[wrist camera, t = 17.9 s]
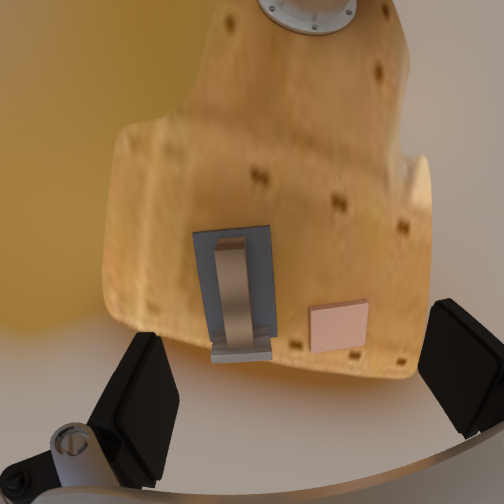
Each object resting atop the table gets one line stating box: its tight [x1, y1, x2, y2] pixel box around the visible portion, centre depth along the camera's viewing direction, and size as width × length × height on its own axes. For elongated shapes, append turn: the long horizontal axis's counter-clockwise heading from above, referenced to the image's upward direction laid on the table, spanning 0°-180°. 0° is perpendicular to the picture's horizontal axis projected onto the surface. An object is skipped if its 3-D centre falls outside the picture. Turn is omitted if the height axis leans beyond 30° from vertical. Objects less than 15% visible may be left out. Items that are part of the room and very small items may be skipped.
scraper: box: [211, 236, 272, 363], centre depth 34 cm, size 13×7×6 cm, turn 5°
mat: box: [192, 225, 277, 342], centre depth 37 cm, size 15×9×1 cm, turn 5°
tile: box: [309, 299, 369, 354], centre depth 39 cm, size 2×8×7 cm
